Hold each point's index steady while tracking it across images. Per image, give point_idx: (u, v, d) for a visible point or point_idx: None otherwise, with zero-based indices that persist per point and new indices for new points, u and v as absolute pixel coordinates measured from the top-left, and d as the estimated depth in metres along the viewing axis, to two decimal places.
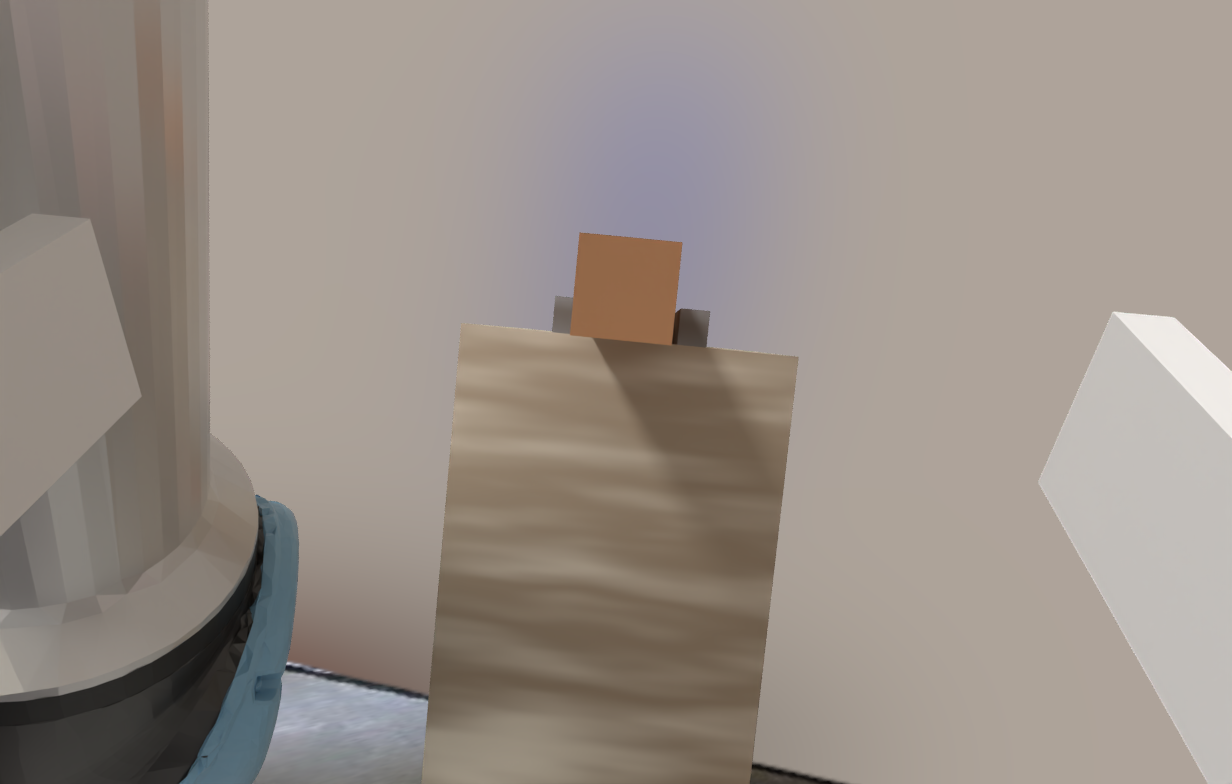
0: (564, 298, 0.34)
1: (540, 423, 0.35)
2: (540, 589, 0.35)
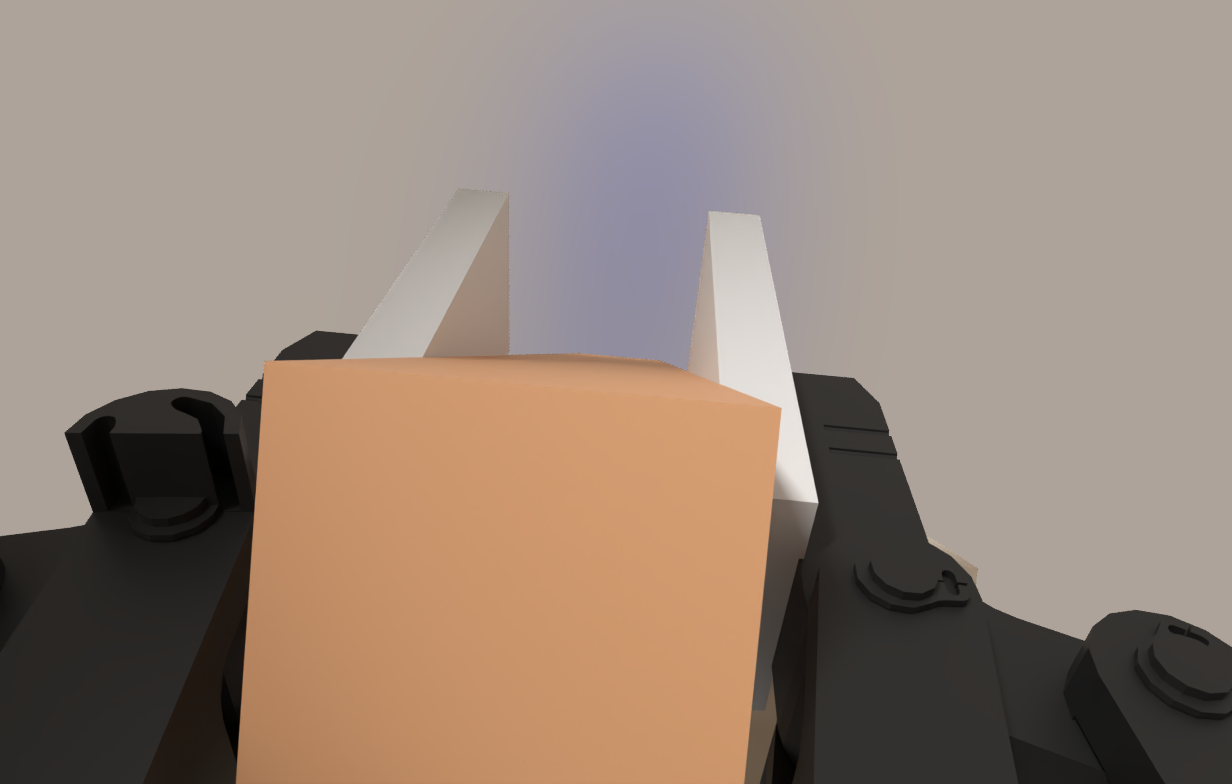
0: None
1: None
2: None
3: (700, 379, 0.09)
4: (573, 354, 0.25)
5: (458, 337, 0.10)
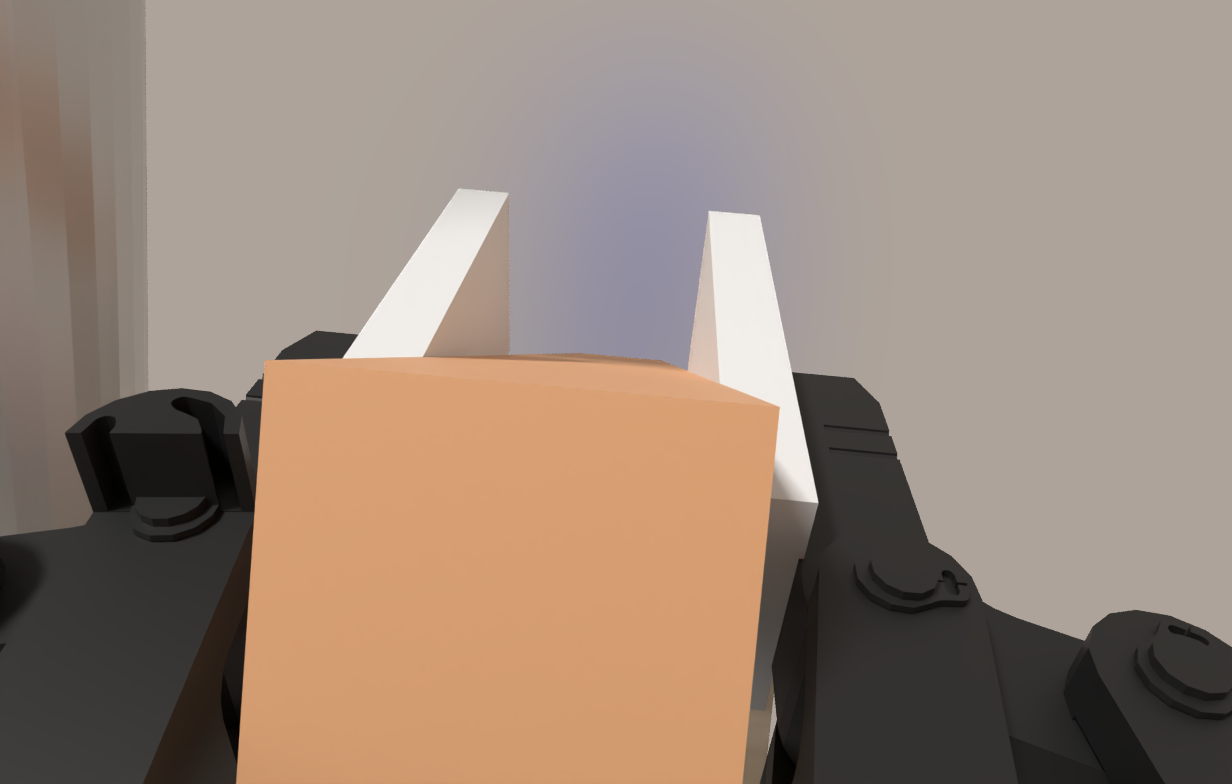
0: None
1: None
2: None
3: (700, 378, 0.09)
4: (574, 354, 0.25)
5: (458, 337, 0.10)
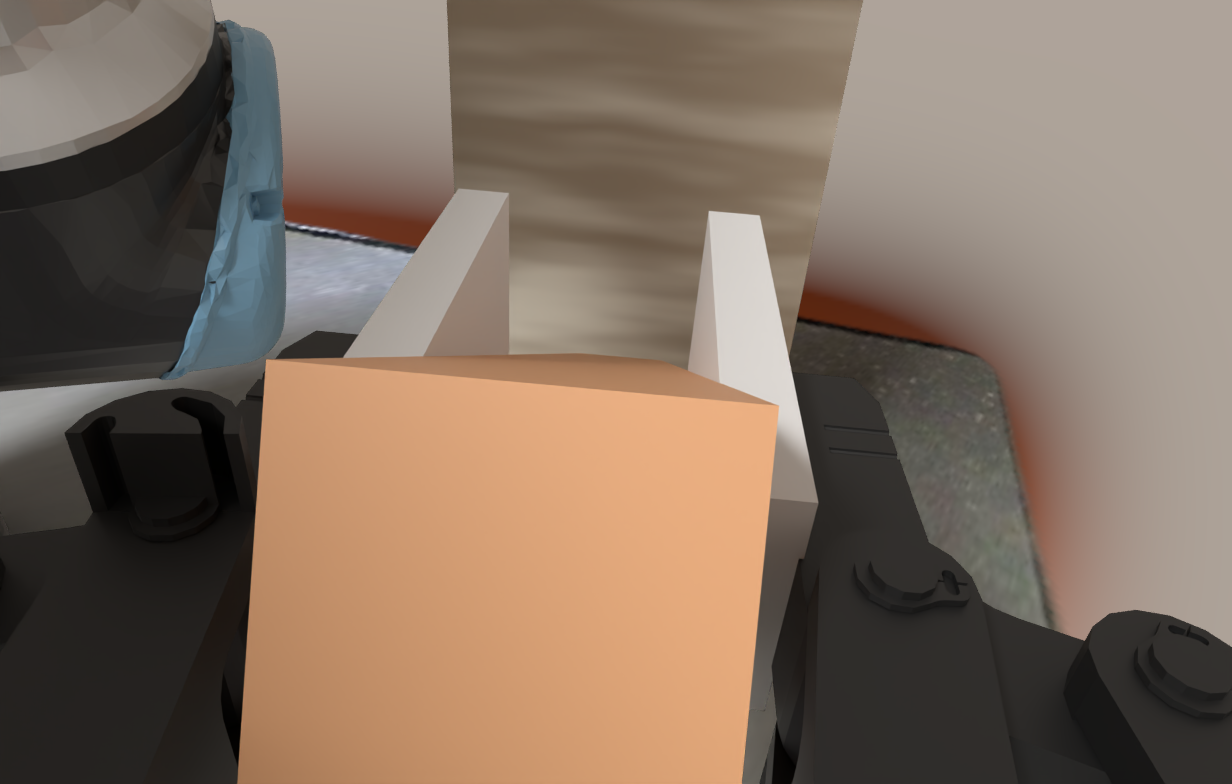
0: None
1: None
2: (568, 129, 0.31)
3: (700, 378, 0.09)
4: None
5: (458, 337, 0.10)
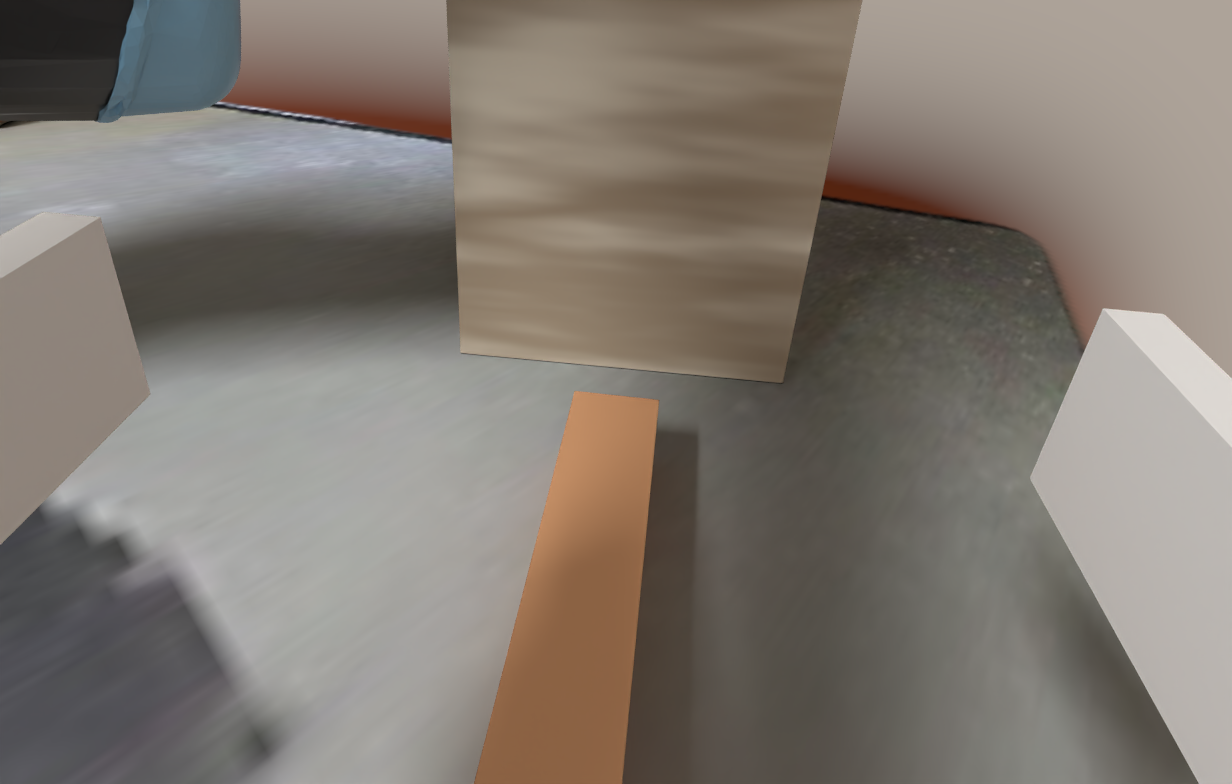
0: None
1: None
2: None
3: None
4: (554, 506, 0.24)
5: None
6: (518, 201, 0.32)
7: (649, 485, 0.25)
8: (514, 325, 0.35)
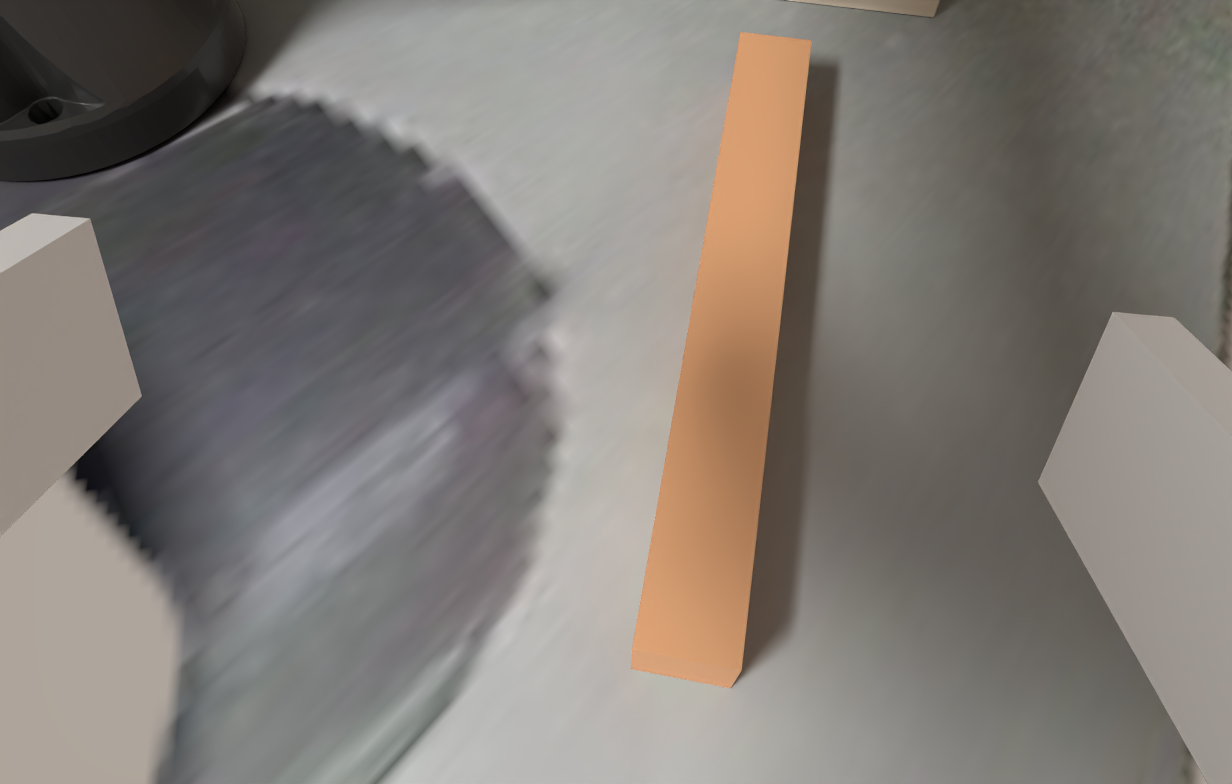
0: None
1: None
2: None
3: (755, 510, 0.25)
4: (729, 136, 0.32)
5: None
6: None
7: (801, 119, 0.33)
8: None
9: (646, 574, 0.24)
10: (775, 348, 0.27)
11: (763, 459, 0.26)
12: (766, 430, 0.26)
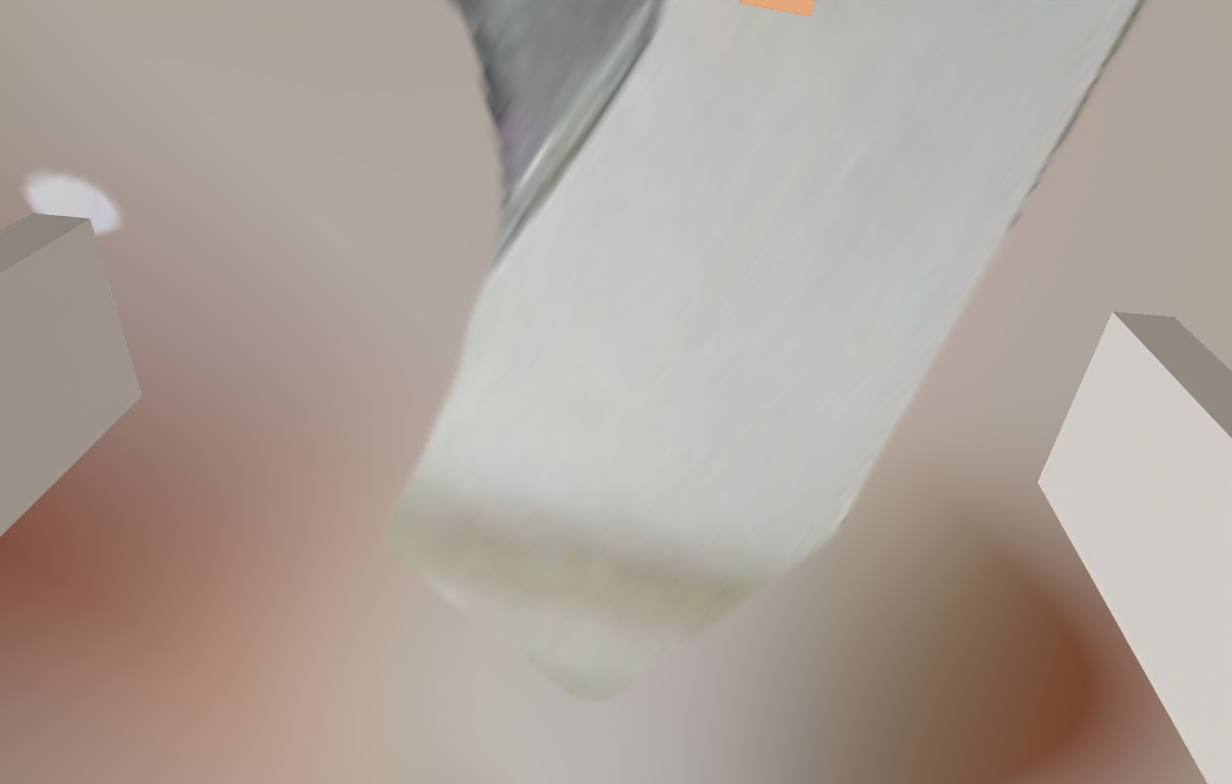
0: None
1: None
2: None
3: None
4: None
5: None
6: None
7: None
8: None
9: None
10: None
11: None
12: None
